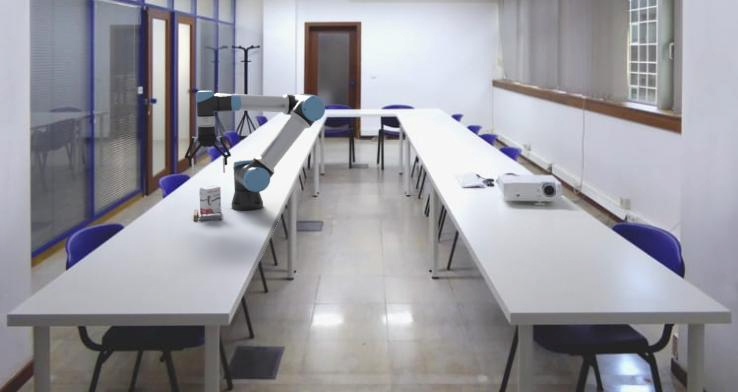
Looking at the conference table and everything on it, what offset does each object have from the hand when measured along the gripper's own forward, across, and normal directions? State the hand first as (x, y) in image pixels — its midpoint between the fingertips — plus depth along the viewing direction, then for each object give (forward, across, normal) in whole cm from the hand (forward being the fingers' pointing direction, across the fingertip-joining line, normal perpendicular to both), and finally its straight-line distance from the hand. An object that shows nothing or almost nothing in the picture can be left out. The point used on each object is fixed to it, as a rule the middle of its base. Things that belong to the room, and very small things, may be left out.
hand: (208, 173), depth 320 cm
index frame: (+20, 0, 0) cm, 20 cm away
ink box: (+19, 0, 0) cm, 19 cm away
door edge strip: (+20, -7, 0) cm, 21 cm away
